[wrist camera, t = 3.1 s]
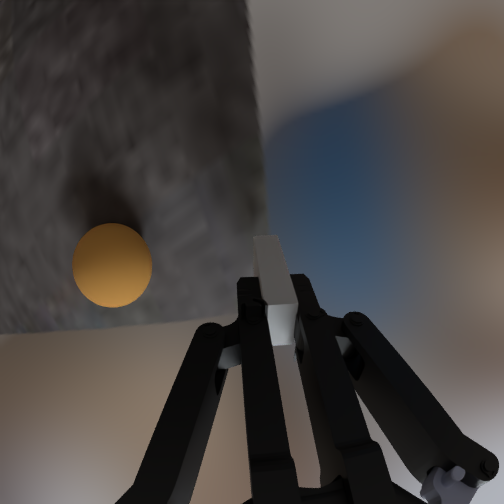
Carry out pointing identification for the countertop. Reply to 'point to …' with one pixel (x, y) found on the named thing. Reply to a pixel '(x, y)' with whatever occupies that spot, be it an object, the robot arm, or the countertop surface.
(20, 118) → the countertop surface
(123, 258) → the ball
